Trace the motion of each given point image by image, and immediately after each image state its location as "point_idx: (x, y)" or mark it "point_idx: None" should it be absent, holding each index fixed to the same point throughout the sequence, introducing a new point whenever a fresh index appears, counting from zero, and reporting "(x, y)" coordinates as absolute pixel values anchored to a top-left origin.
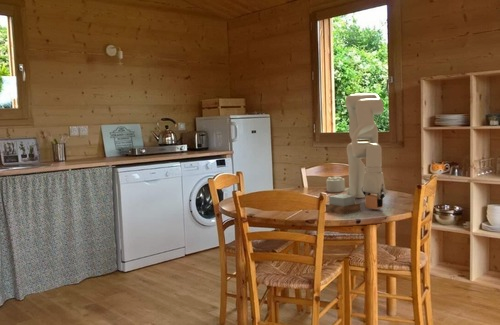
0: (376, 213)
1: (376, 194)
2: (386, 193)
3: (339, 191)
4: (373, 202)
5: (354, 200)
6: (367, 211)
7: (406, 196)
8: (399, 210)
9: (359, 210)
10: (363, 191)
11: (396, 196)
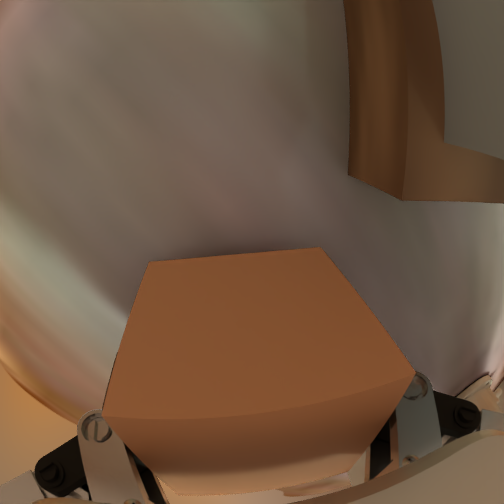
0: (73, 176)
1: (361, 468)
2: (6, 487)
3: (499, 385)
4: (174, 319)
5: (486, 135)
6: (238, 184)
7: (309, 490)
8: (89, 394)
9: (349, 160)
10: (480, 425)
11: (338, 478)
